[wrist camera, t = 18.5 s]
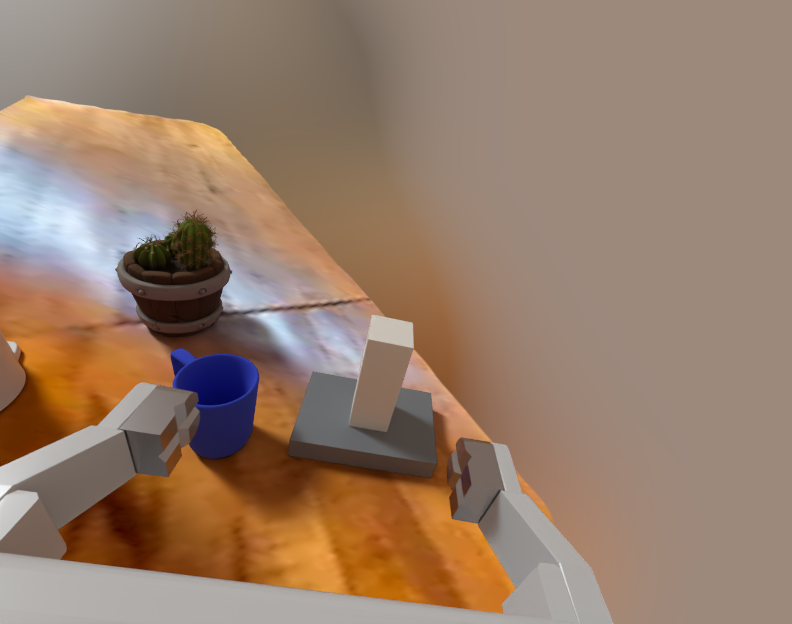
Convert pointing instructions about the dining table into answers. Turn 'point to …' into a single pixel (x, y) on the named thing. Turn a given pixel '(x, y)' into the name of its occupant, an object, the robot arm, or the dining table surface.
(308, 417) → the block
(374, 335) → the block
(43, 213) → the dining table surface
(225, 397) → the mug
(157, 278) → the flowerpot
